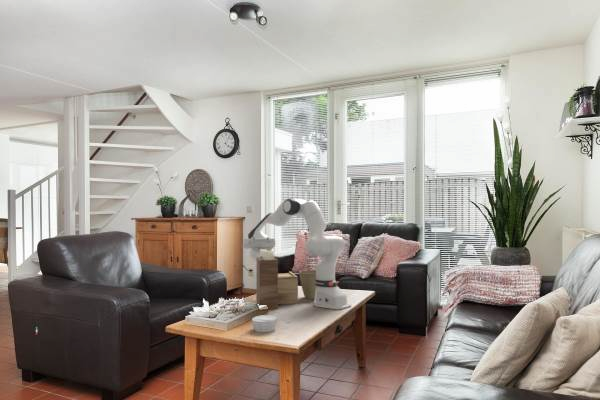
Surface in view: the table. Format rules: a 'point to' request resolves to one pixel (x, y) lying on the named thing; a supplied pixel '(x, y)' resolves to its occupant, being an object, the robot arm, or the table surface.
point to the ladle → (266, 254)
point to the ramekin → (264, 323)
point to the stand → (275, 285)
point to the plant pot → (308, 283)
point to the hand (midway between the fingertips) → (260, 237)
